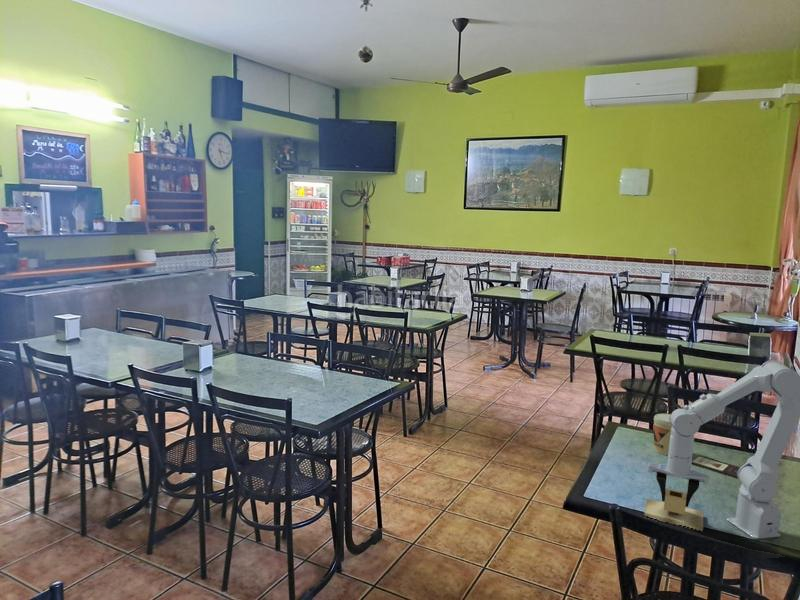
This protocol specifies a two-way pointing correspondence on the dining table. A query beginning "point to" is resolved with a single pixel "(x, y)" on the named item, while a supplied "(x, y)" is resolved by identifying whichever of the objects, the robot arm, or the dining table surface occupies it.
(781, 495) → the dining table surface
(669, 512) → the post stand
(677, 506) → the collar
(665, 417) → the coffee cup
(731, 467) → the chocolate bar
